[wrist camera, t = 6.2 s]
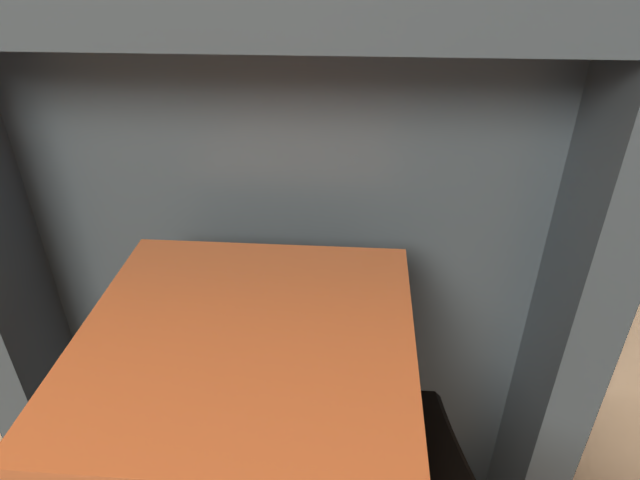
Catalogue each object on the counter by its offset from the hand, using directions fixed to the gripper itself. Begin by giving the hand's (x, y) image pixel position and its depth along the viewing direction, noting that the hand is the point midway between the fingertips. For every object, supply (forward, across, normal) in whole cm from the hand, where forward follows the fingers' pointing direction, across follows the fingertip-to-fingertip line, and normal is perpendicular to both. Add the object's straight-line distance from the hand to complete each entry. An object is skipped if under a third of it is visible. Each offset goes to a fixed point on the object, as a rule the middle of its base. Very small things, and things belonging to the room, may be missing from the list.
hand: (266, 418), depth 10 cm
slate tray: (+3, 0, 0) cm, 3 cm away
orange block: (+2, 0, 0) cm, 2 cm away
